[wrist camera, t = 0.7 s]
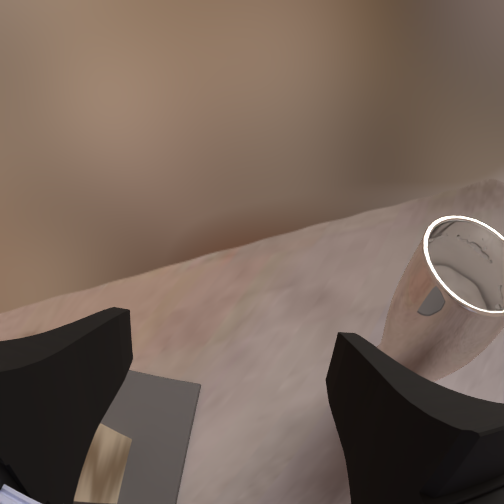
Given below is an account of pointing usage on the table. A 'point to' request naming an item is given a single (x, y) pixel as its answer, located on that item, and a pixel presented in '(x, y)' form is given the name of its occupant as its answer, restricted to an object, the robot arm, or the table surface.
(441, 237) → the beer glass
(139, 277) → the table surface
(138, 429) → the rubber mat
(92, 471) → the birch block
